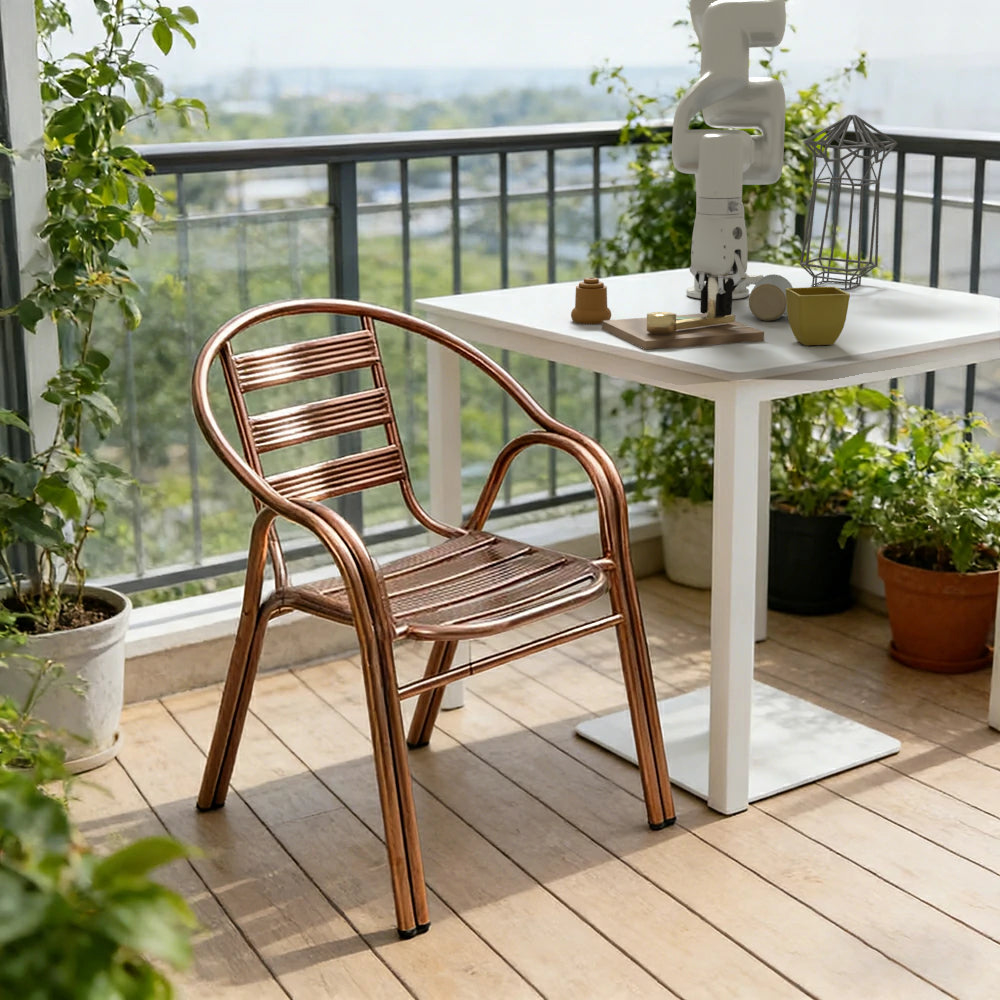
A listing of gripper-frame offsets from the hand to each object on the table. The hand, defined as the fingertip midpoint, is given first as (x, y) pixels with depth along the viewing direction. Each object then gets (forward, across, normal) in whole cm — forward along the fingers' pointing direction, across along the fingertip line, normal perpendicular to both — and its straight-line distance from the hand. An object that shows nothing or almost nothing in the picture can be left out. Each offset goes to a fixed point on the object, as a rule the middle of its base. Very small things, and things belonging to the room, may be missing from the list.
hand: (715, 313), depth 248 cm
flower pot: (+4, -16, -8) cm, 18 cm away
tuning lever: (+2, 0, +5) cm, 6 cm away
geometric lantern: (+4, +24, -56) cm, 61 cm away
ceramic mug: (+4, +5, -20) cm, 21 cm away
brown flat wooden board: (+4, +4, +5) cm, 7 cm away
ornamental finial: (+4, +24, +10) cm, 26 cm away
